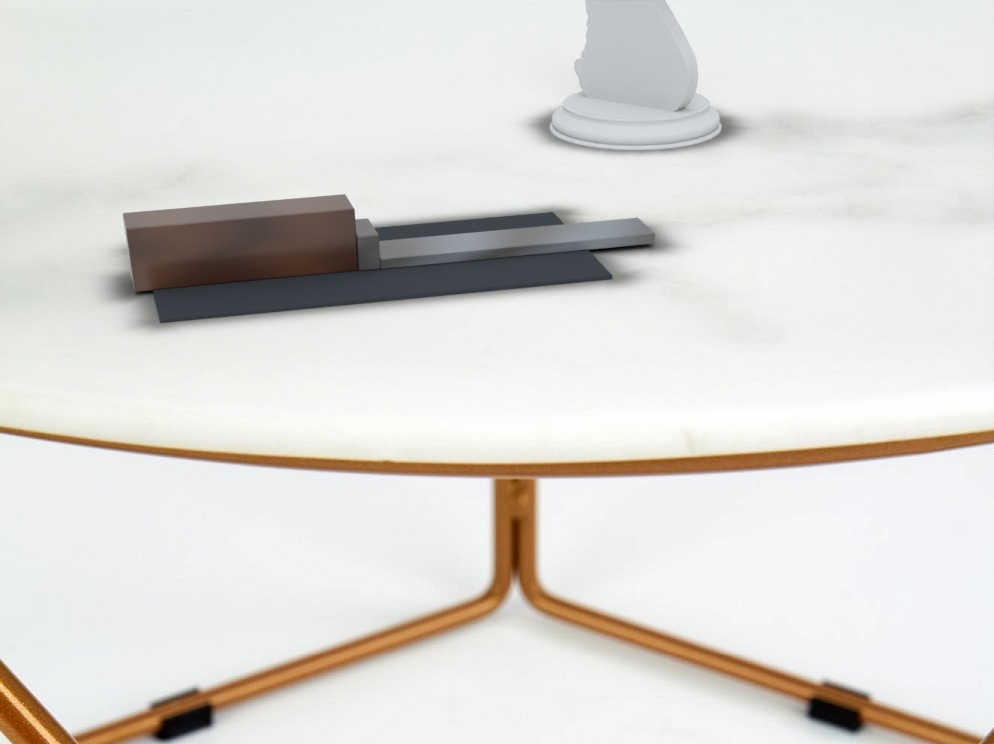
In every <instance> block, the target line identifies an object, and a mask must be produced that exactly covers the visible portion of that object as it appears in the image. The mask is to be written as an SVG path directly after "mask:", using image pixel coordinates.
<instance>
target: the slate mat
mask: <svg viewBox="0 0 994 744" xmlns="http://www.w3.org/2000/svg"><path fill="white" fill-rule="evenodd" d="M562 224H565V223H564V222H563V221H562V220H561V218H560V217H558V216H557V214H556V213H555V212H554V211H549V212H547V211H546V212H538V213H537V212H535V213H526V214H525V213H524V214H514V215H504V216H492V217H482V218H481V217H480V218H479V217H478V218H470V219H457V220H447V221H434V222H424V223H412V224H402V225H390V226H389V225H388V226H379V227H378V226H377V227H374V229H375V230H376V232H377V233H378V235H379V241H386V240H397V239H408V238H419V237H430V236H441V235H452V234H463V233H474V232H485V231H496V230H507V229H518V228H529V227H540V226H551V225H562ZM607 280H608V281H609V280H613V274H612V273H611V272H610V271H609V270H608V269H607V268H606V267H605V265H603V263H601V261H600V260H599V259H598V258H597V257H596V256H595V255H594V254H593V253H592V252H591V251H590V250H580V251H570V252H559V253H548V254H538V255H527V256H516V257H506V258H495V259H484V260H474V261H463V262H453V263H442V264H431V265H421V266H410V267H399V268H389V269H381V268H380V269H376V270H366V271H359V269H358V270H357V271H348V272H338V273H327V274H316V275H306V276H295V277H285V278H274V279H263V280H253V281H242V282H231V283H221V284H210V285H199V286H189V287H178V288H167V289H157V290H152V294H153V297H154V302H155V305H156V310H157V315H158V318H159V323H161V324H167V323H175V322H187V321H197V320H198V321H199V320H206V319H207V320H208V319H217V318H227V317H228V318H229V317H238V316H247V315H258V314H271V313H279V312H289V311H290V312H291V311H301V310H310V309H320V308H331V307H341V306H352V305H362V304H372V303H373V304H374V303H384V302H393V301H402V300H411V299H412V300H413V299H424V298H434V297H435V298H436V297H444V296H445V297H446V296H453V295H454V296H455V295H464V294H465V295H467V294H475V293H487V292H495V291H506V290H515V289H526V288H527V289H528V288H536V287H546V286H557V285H567V284H568V285H569V284H579V283H587V282H597V281H607Z"/></svg>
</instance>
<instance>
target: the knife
mask: <svg viewBox="0 0 994 744" xmlns="http://www.w3.org/2000/svg"><path fill="white" fill-rule="evenodd" d="M122 220H123V221H122V222H123V228H124V229H123V230H124V235H125V241H126V242H125V243H126V250H127V251H126V252H127V258H128V264H129V271H130V272H129V273H130V277H131V282H132V287H133V291H134V292H145V291H153V290H157V289H167V288H178V287H189V286H199V285H210V284H221V283H231V282H242V281H253V280H263V279H274V278H285V277H295V276H306V275H316V274H327V273H338V272H348V271H357V270H358V269H359V271H366V270H376V269H380V268H381V269H389V268H399V267H410V266H421V265H431V264H442V263H453V262H463V261H474V260H484V259H495V258H506V257H516V256H527V255H538V254H548V253H559V252H570V251H580V250H589V251H590V250H599V249H611V248H622V247H631V246H643V245H653V244H655V243H656V233H655V232H654V231H653V230H652V229H651V228H650V227H649V226H648V225H647V224H645V223H644V222H643V221H642V220H641V219H640V218H639V217H631V218H630V217H629V218H620V219H619V218H618V219H617V218H616V219H606V220H595V221H586V222H574V223H564V224H562V225H551V226H540V227H529V228H518V229H507V230H496V231H485V232H474V233H463V234H452V235H441V236H430V237H419V238H408V239H397V240H386V241H379V235H378V233H377V232H376V230H375V229H374V228H375V227H374V226H373V224H372V222H371V220H370V219H369V218H357V219H356V210H355V208H354V205H353V204H352V202H351V201H350V199H349V198H348V196H347V195H346V193H344V194H343V193H342V194H331V195H319V196H307V197H295V198H284V199H273V200H261V201H260V200H259V201H247V202H237V203H235V202H234V203H226V204H225V203H223V204H213V205H201V206H188V207H179V208H167V209H166V208H165V209H153V210H142V211H131V212H123V213H122Z"/></svg>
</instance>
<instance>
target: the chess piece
mask: <svg viewBox="0 0 994 744" xmlns="http://www.w3.org/2000/svg"><path fill="white" fill-rule="evenodd" d="M584 3H585V13H586V15H587V20H586V33H585V38H586V42H585V44H584V48H583V50H582V51H581V53H580V58H577V59H575V60H574V63H573V64H574V65H573V66H574V67H573V69H574V72H575V74H576V76H577V78H578V81H579V86H580V89H581V91H578V92H575V93H573V94H570V95H568V96H566V97H565V98H564V100H563V101H562V105H560V107H558V108H557V109H556V110H555V111H554V112H553V113H552V115H551V122H550V124H549V131H550V132H551V134H552V135H553V136H555V137H556V138H558V139H560V140H563V141H565V142H568V143H571V144H574V145H575V144H576V145H579V146H584V147H590V148H597V149H606V150H619V151H652V150H654V151H655V150H665V149H675V148H681V147H688V146H692V145H697V144H700V143H704V142H707V141H709V140H712V139H714V138H715V137H716V136H718V135H720V133H721V131H722V127H723V126H722V123H721V121H720V120H721V118H720V117H721V116H720V114H719V112H718V111H717V109H715V108H714V107H713V106H711V105H710V104H711V103H710V100H709V99H708V98H707V97H706V96H704V95H702V94H699V93H697V88H698V83H699V67H698V62H697V58H696V56H695V55H696V54H695V52H694V50H693V48H692V46H691V44H690V41H689V40H688V38H687V36H686V35H685V33H684V30H683V29H682V27H681V25H680V23H679V21H678V20H677V18H676V16H675V14H674V12H673V10H672V9H671V8H670V6H669V4H668V3H667V1H666V0H584Z"/></svg>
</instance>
